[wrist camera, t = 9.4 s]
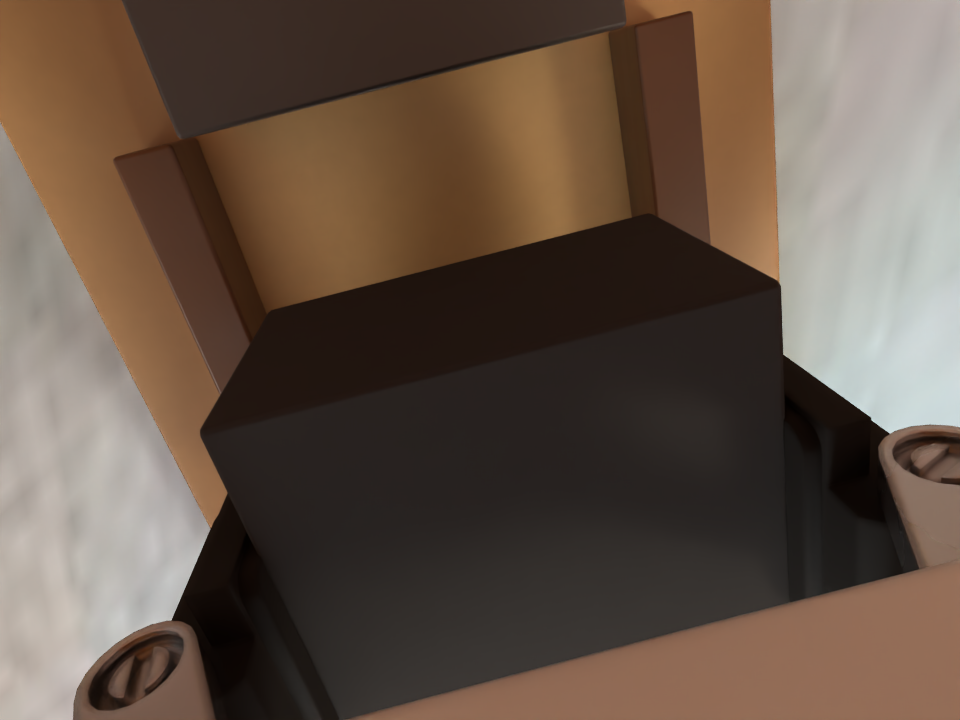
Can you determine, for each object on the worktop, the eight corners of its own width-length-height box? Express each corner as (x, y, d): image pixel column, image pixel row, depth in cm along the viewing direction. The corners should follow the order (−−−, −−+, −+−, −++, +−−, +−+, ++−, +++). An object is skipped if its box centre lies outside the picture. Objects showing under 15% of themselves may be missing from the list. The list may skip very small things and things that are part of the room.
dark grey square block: (382, 599, 13) (374, 798, 9) (267, 309, 10) (195, 432, 7) (687, 519, 13) (796, 687, 9) (651, 211, 10) (784, 280, 7)
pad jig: (248, 553, 17) (204, 693, 13) (-262, -478, 9) (-761, -905, 5) (761, 417, 17) (866, 515, 13) (704, -710, 9) (928, -1286, 5)
